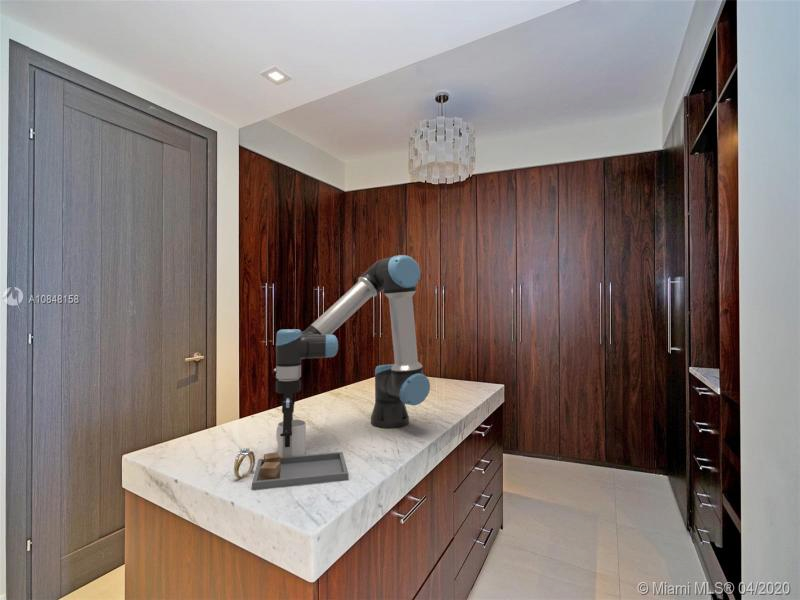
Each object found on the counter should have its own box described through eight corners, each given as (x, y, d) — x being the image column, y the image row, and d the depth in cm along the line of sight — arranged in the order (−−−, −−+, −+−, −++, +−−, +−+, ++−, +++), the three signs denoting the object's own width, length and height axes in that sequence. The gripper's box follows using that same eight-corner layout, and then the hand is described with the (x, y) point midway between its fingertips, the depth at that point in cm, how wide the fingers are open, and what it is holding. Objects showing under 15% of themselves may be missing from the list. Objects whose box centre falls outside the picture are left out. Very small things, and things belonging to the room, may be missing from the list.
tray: (342, 459, 121) (342, 451, 121) (348, 482, 106) (348, 473, 106) (258, 467, 116) (258, 459, 116) (251, 493, 100) (251, 483, 100)
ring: (249, 472, 112) (249, 444, 112) (258, 474, 111) (258, 445, 111) (229, 483, 106) (230, 452, 106) (239, 485, 105) (239, 454, 105)
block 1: (278, 466, 115) (278, 451, 115) (280, 471, 111) (280, 456, 111) (263, 468, 113) (263, 454, 113) (265, 473, 110) (265, 459, 110)
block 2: (280, 477, 107) (280, 462, 107) (275, 483, 103) (275, 468, 103) (265, 477, 108) (265, 462, 108) (259, 483, 104) (259, 468, 104)
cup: (288, 463, 119) (288, 429, 119) (265, 454, 126) (265, 421, 126) (311, 455, 125) (311, 422, 125) (287, 447, 133) (287, 416, 133)
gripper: (277, 373, 135) (277, 440, 135) (273, 386, 114) (272, 465, 113) (300, 373, 137) (300, 438, 137) (300, 385, 115) (300, 463, 115)
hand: (287, 451), depth 125 cm, fingers open, 10 cm apart
